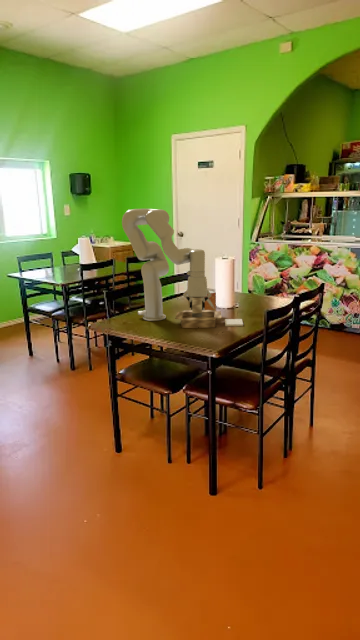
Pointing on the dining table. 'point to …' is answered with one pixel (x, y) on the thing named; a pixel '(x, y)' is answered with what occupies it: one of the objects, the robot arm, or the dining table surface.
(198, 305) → the block
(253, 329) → the dining table surface
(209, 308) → the small box
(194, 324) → the brown wooden tray
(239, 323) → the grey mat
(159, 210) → the robot arm
